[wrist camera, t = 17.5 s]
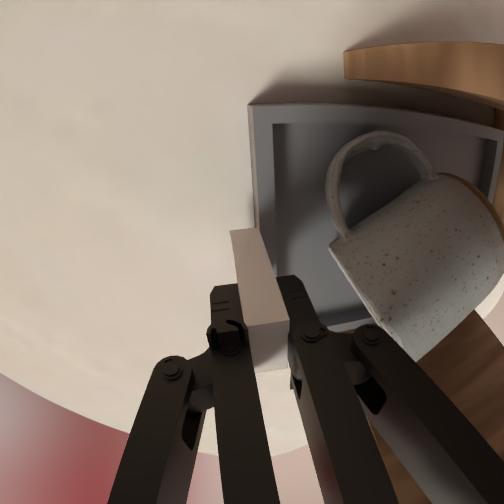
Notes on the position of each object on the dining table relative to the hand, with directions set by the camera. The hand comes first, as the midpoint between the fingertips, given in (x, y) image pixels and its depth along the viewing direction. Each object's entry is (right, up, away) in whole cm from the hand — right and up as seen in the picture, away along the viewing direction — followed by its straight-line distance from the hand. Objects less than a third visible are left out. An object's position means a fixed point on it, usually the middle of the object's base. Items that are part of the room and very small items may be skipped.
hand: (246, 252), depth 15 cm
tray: (+9, +2, +2) cm, 9 cm away
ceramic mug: (+8, +2, +1) cm, 8 cm away
